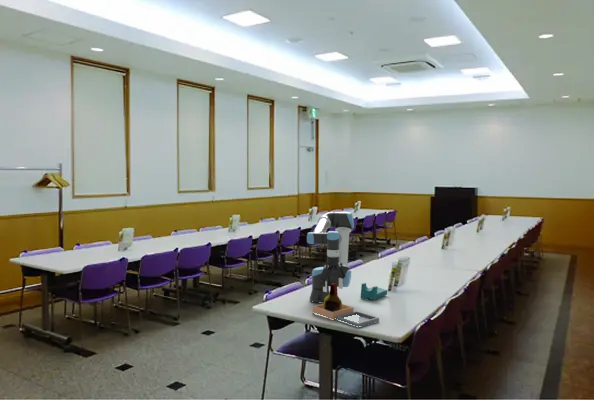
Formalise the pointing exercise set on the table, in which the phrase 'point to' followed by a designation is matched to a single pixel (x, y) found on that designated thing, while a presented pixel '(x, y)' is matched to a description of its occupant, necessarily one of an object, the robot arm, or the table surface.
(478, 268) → the table surface
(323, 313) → the holder
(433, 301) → the table surface
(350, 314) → the tray
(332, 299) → the bottle
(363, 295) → the teal l-shaped bracket
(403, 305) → the table surface
